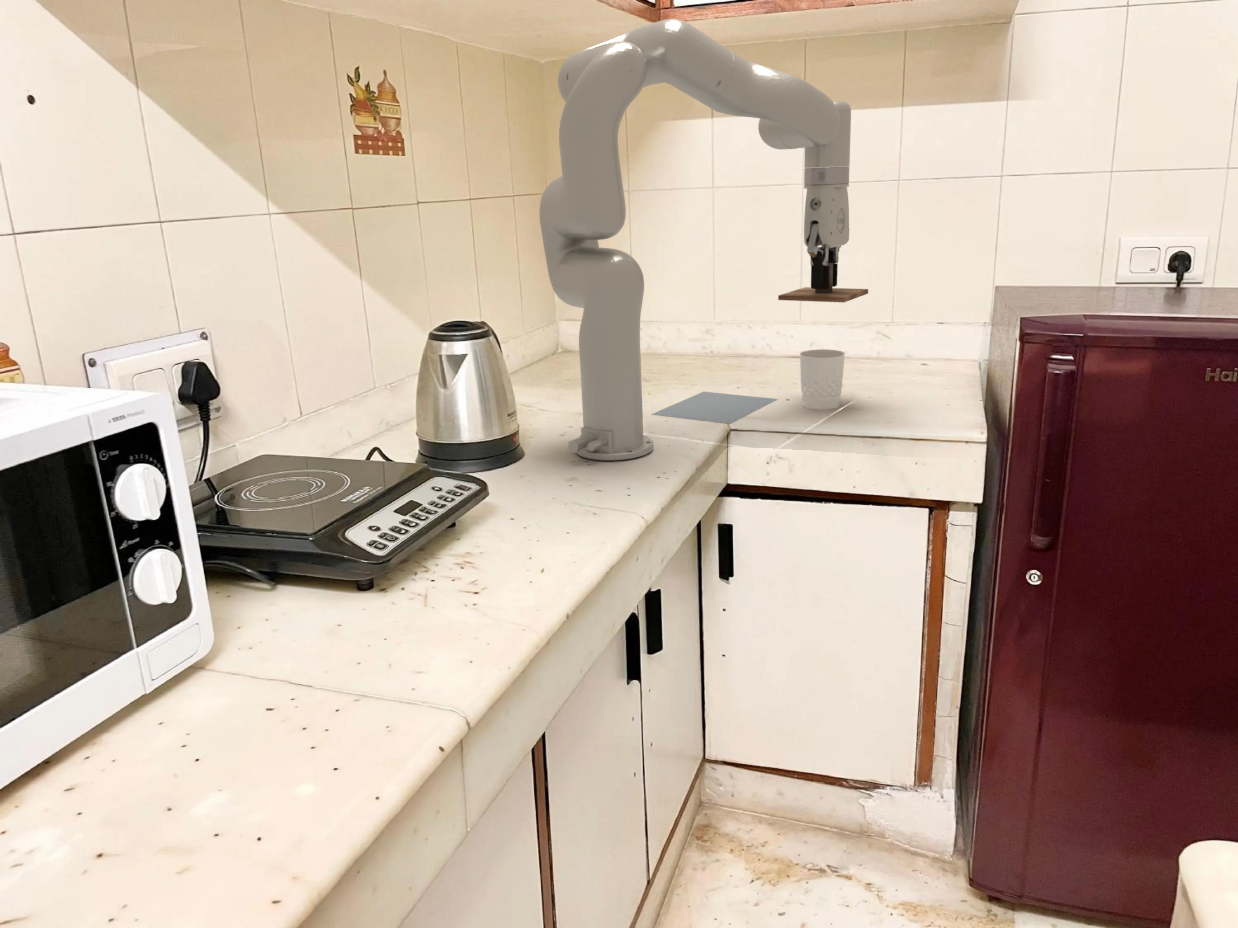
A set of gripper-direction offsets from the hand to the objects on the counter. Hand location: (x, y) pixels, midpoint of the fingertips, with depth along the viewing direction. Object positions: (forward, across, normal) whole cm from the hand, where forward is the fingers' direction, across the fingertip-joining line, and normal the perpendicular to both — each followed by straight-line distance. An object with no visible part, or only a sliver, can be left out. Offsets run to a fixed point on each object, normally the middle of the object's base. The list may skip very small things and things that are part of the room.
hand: (823, 286), depth 162 cm
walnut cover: (+2, 0, 0) cm, 2 cm away
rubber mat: (+22, -9, +17) cm, 29 cm away
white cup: (+22, 0, 0) cm, 22 cm away
